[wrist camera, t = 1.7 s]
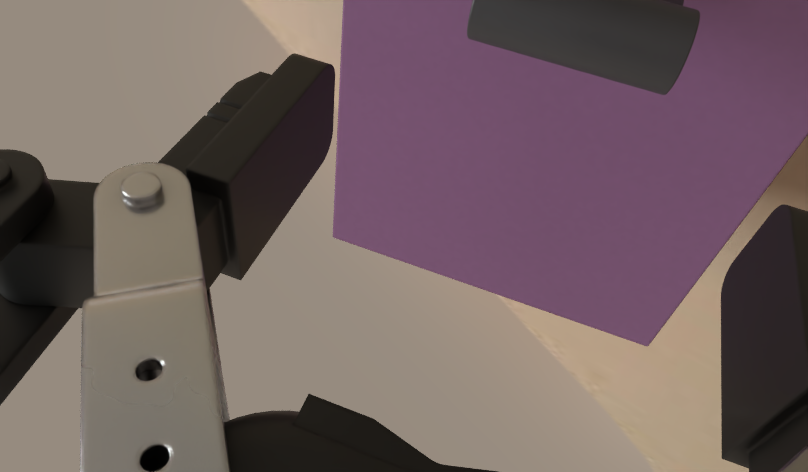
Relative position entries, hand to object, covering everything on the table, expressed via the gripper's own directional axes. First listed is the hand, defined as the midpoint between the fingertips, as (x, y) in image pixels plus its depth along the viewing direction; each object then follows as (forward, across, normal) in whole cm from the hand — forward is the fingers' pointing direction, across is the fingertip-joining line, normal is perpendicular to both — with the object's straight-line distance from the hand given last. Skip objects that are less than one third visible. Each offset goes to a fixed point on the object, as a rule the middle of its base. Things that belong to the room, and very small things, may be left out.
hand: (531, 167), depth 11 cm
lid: (+10, 0, +7) cm, 12 cm away
